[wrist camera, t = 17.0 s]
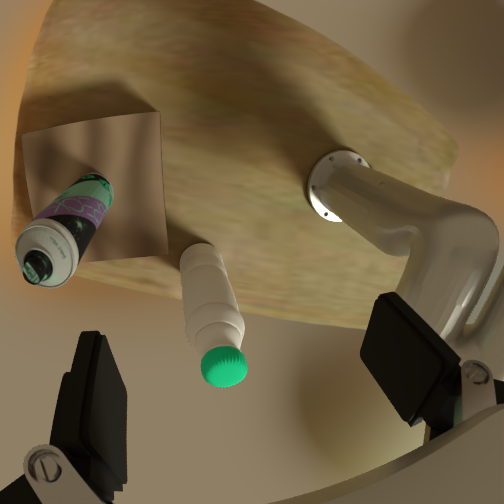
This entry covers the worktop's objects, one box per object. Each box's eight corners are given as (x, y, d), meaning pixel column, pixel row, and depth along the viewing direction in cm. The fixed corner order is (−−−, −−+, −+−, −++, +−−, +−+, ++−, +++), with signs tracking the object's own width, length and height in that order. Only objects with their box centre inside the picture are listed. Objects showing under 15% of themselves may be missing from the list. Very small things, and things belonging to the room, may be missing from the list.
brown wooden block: (162, 111, 39) (159, 111, 32) (169, 231, 47) (168, 254, 40) (44, 129, 35) (21, 134, 28) (61, 242, 43) (45, 266, 36)
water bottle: (171, 266, 50) (178, 385, 28) (195, 233, 48) (218, 341, 27) (205, 285, 53) (232, 402, 32) (229, 255, 52) (274, 365, 30)
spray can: (106, 220, 36) (61, 317, 19) (69, 206, 34) (-1, 292, 17) (120, 180, 34) (72, 253, 17) (81, 166, 32) (4, 226, 15)
